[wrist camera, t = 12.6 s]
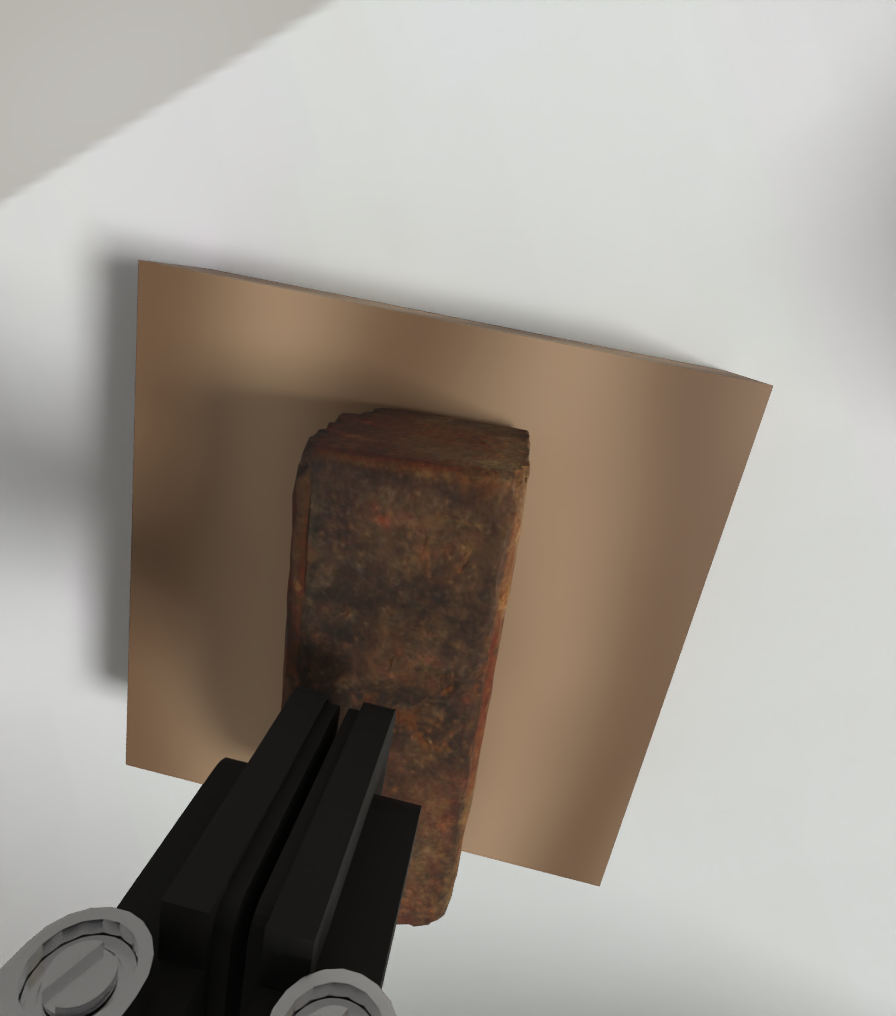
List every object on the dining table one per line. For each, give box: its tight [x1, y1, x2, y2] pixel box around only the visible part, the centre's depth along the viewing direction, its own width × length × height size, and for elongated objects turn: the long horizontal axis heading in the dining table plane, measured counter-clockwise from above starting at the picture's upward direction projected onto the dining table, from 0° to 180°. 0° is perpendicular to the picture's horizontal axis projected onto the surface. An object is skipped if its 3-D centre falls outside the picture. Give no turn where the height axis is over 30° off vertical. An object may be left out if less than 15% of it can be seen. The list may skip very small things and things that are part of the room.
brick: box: [281, 408, 530, 926], centre depth 14 cm, size 11×4×5 cm, turn 172°
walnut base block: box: [126, 260, 773, 886], centre depth 18 cm, size 14×14×4 cm
